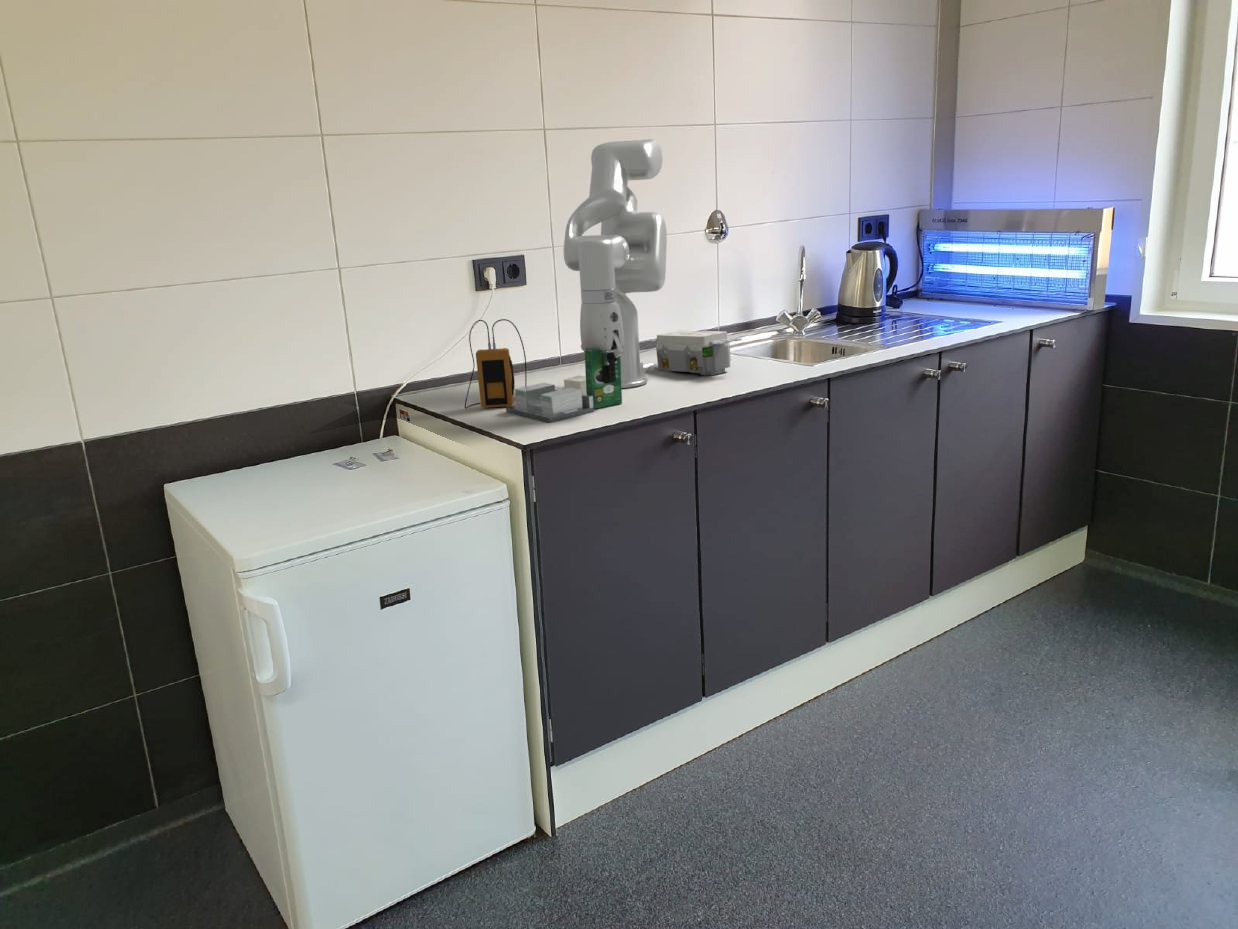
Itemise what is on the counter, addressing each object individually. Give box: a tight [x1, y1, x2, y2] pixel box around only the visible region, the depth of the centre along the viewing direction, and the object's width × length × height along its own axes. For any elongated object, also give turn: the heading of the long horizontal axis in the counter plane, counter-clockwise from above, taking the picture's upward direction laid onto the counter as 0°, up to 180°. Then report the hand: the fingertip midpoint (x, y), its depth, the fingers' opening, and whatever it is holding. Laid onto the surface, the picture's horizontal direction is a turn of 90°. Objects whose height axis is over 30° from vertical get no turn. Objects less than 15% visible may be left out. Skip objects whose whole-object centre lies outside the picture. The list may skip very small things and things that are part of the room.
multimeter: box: [464, 318, 527, 410], centre depth 211 cm, size 15×10×20 cm
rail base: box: [505, 382, 595, 424], centre depth 202 cm, size 12×16×5 cm
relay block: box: [563, 375, 587, 395], centre depth 212 cm, size 5×5×5 cm
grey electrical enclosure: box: [644, 330, 742, 376], centre depth 236 cm, size 12×28×10 cm, turn 38°
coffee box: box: [584, 349, 623, 410], centre depth 203 cm, size 8×3×13 cm, turn 124°
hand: (603, 380), depth 203 cm, fingers closed on coffee box, 3 cm apart
